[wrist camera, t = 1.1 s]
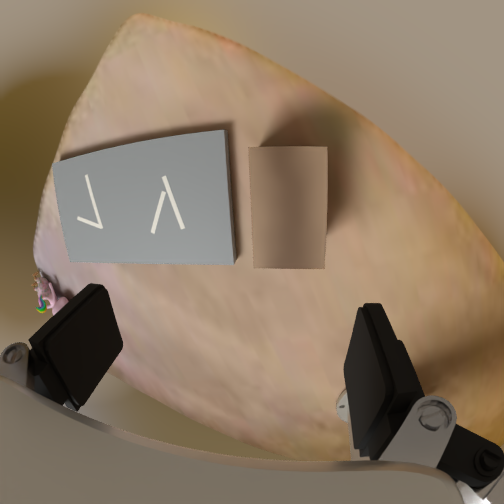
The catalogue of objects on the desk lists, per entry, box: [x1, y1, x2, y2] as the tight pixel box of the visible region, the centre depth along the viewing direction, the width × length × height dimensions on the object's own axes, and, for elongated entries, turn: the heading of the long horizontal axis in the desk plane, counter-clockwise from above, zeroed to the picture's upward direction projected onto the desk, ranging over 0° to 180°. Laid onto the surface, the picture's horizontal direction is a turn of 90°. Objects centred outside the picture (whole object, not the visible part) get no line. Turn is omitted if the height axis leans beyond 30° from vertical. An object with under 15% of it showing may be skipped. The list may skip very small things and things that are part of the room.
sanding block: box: [248, 146, 328, 269], centre depth 25 cm, size 6×10×7 cm, turn 2°
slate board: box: [52, 130, 237, 265], centre depth 30 cm, size 24×14×2 cm, turn 93°
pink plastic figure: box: [32, 272, 69, 315], centre depth 36 cm, size 6×6×15 cm
